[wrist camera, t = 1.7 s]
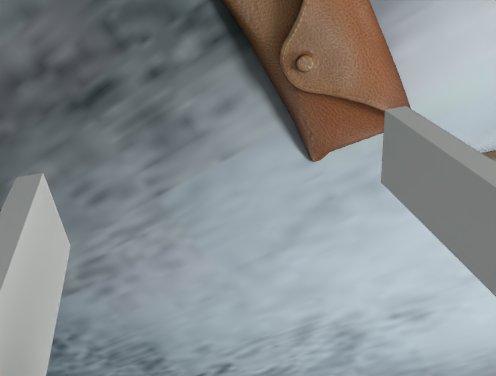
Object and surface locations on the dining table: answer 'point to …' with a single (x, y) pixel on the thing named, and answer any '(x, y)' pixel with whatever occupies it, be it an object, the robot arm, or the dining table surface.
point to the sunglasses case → (324, 66)
